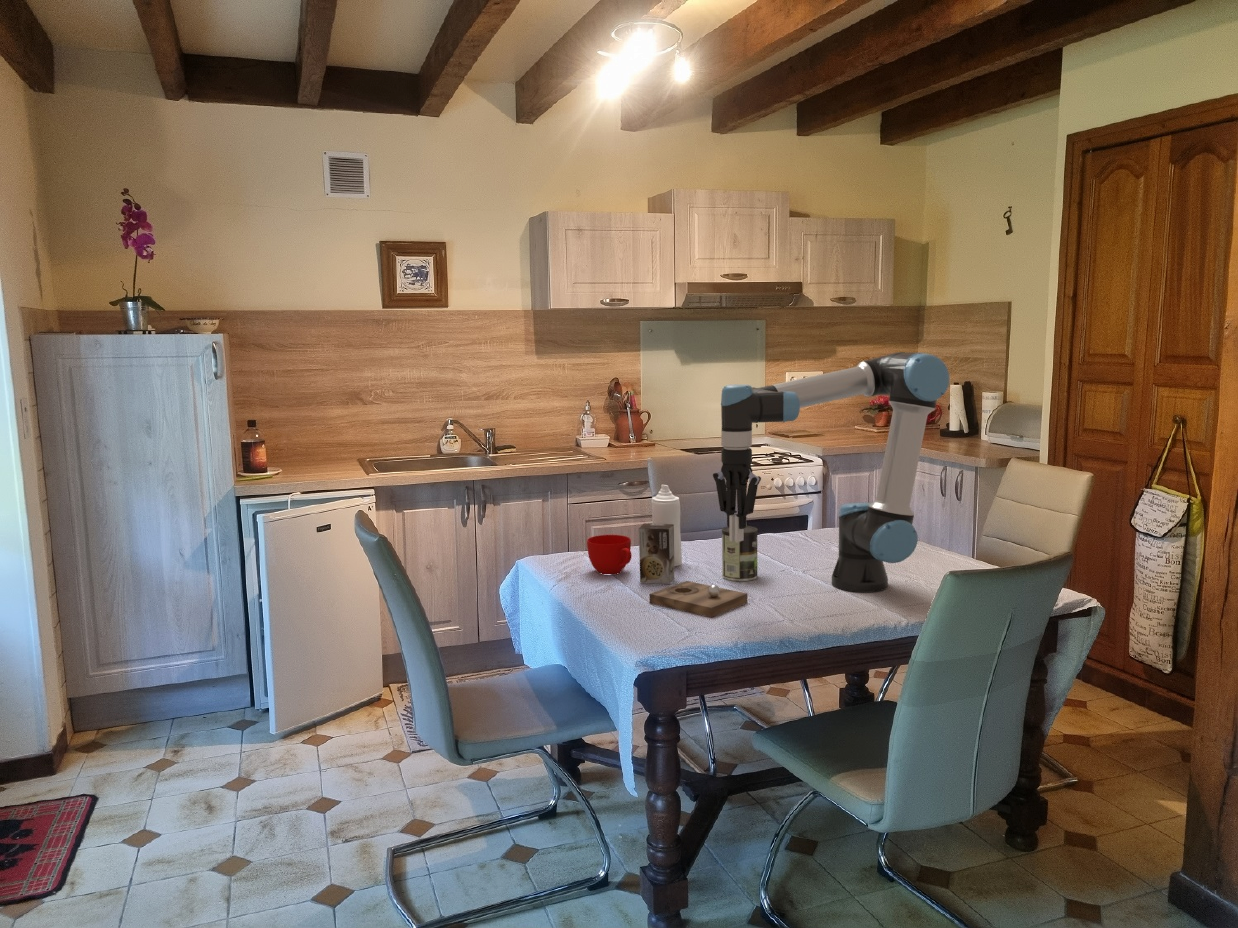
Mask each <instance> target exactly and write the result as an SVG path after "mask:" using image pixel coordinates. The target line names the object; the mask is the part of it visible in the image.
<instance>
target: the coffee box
mask: <svg viewBox="0 0 1238 928" xmlns="http://www.w3.org/2000/svg"><path fill="white" fill-rule="evenodd" d="M638 547H639V548H638V549H639V551H638V552H639V583H640V582H642V584H661V585H662V584H663V585H671V584H672V583H673V582H674V580H676V577H675V575H676V574H675V566H674V524H653V523H646V522H644V523H643V524H641V526H640V527H638Z"/></svg>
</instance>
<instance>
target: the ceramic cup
mask: <svg viewBox="0 0 1238 928" xmlns="http://www.w3.org/2000/svg"><path fill="white" fill-rule="evenodd" d="M631 544H632V538H631V537H629V536H627V535H626V536H625V535H621V534H601V535H600V534H599V535H594V536H591V537H589V538H587V540H586V546H587V549H586V550H587V553H588V554H587V555H588V558H589V562H590V564H591V565H592V567H593V568H594V570H595V571H596V572H597V573H598V572H599V573H602V574H616V575H618V574H617V573H619V574H621V573H622V571H623V570H624V569H625V568H626V565H628V564H629V563H630V562H631V560H632V556H633V555H632V551H631V546H632V545H631ZM620 572H621V573H620ZM599 573H598V574H599ZM602 574H601V575H602Z"/></svg>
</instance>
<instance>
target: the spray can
mask: <svg viewBox="0 0 1238 928" xmlns="http://www.w3.org/2000/svg"><path fill="white" fill-rule="evenodd" d="M660 487H661V488H660V489H659V491H658V492H657V493H658V494H656V495H655V496H653V497H651V500H650V501H651V515H652V518H651V519H652V524H674V567H679V566H681V565H682V564H683V556H682V555H683V554H682V539H681V504H680V503H681V502H680V497H678V496H675V495H674V494H673V492H672V491H671V489H670V487H669V485H667V484H661V486H660Z"/></svg>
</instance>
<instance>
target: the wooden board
mask: <svg viewBox="0 0 1238 928" xmlns="http://www.w3.org/2000/svg"><path fill="white" fill-rule="evenodd" d="M710 586H711V585H709V584H703V583H699V582H694V581H690V580H685V581H682V582H678V583H676V584H673V585H671V586H668V587H664V588H661V589H659V590H656V591H654V592H651V593H649V604H653V605H656V606H659V607H660V606H662V607H665V608H670V609H673V610H677V611H682V612H686V613H690V614H695V615H699V616H703V617H708V618H714V617H716V616H719V615H721V614H724V613H726V612H728V611H731V610H734V609H736V608H739V607H741V606H743V605H745V604H747V603H748V593H747V592H742V591H738V590H732V589H727V588H723V587H719V588H720V594H719V595H718V596H717V597H711V596H710V595H709V594H708V588H709V587H710Z"/></svg>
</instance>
